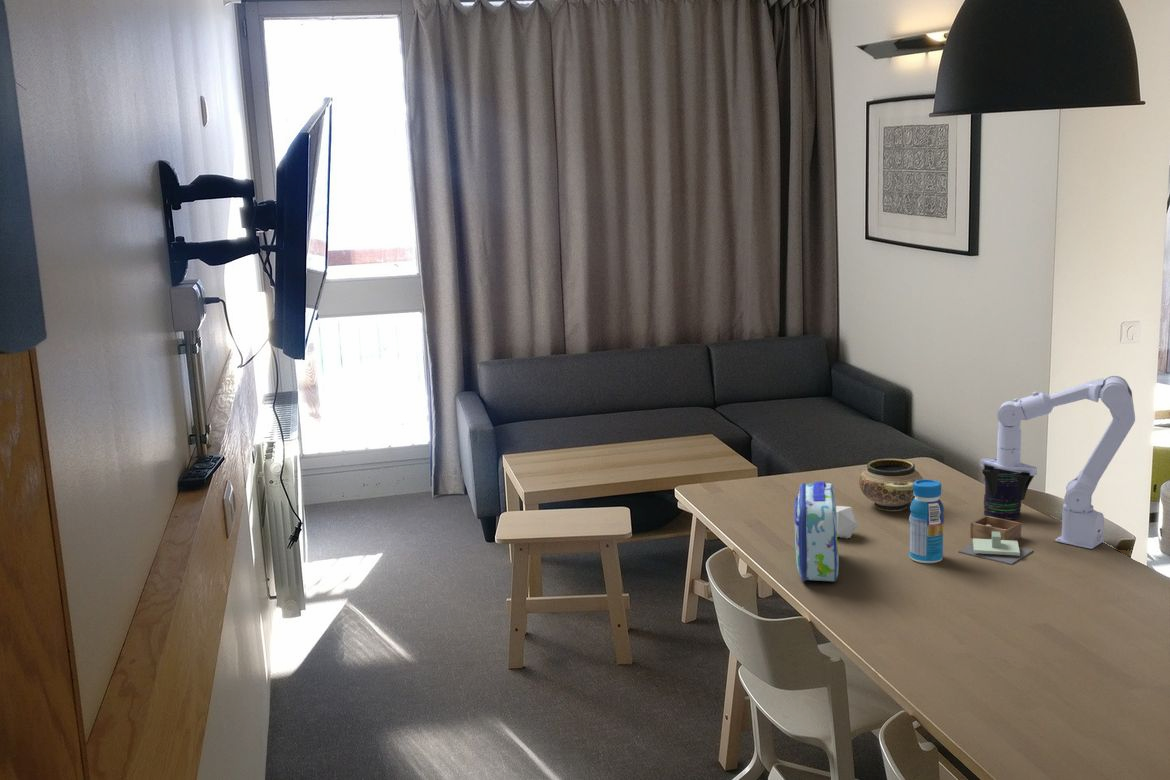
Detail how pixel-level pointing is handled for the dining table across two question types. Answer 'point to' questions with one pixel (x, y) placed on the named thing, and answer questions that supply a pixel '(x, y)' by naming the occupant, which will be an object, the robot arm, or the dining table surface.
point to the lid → (996, 545)
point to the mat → (997, 555)
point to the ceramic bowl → (889, 483)
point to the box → (995, 528)
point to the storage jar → (1003, 497)
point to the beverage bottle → (926, 522)
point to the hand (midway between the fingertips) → (1007, 496)
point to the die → (845, 521)
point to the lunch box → (816, 532)
